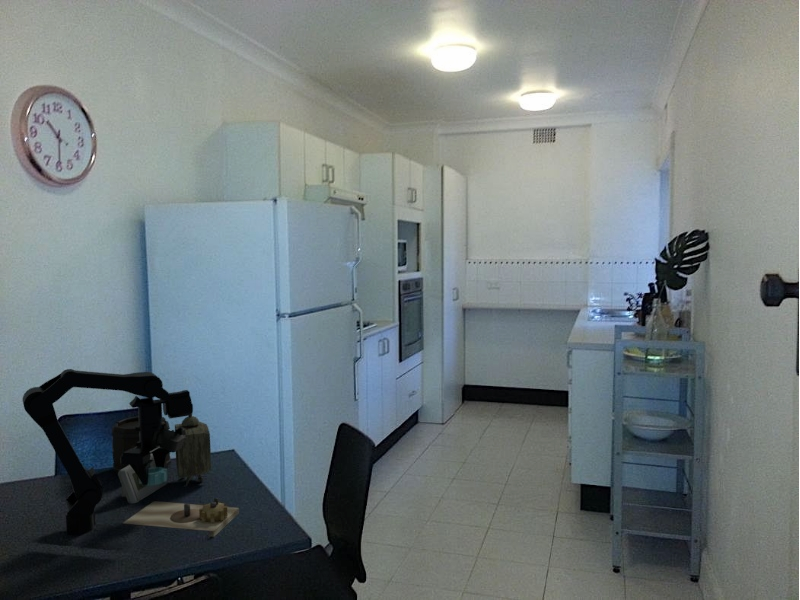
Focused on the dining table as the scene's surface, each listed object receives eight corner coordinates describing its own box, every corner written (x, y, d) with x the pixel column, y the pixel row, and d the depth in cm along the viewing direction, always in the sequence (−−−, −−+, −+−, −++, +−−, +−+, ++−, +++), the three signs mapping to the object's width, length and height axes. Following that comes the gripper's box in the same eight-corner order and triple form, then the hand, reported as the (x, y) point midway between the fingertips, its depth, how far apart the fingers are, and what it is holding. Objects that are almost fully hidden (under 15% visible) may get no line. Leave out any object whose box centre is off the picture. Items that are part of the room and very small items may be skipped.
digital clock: (132, 510, 173) (130, 472, 172) (108, 504, 177) (106, 467, 176) (176, 489, 188) (175, 454, 187) (153, 484, 192) (152, 450, 191)
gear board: (213, 536, 157) (213, 513, 157) (122, 528, 162) (121, 505, 161) (238, 513, 171) (238, 491, 170) (154, 506, 176) (153, 485, 175)
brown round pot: (185, 465, 208) (183, 418, 207) (137, 483, 193) (135, 432, 191) (148, 456, 217) (146, 411, 216) (100, 473, 202) (98, 424, 200)
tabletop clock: (176, 477, 198) (173, 397, 195) (206, 472, 201) (204, 395, 199) (179, 493, 184) (176, 409, 182) (212, 489, 188) (209, 405, 186)
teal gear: (158, 487, 163) (157, 476, 163) (133, 485, 164) (133, 474, 164) (172, 477, 170) (172, 466, 169) (149, 476, 171) (148, 465, 171)
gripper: (158, 433, 155) (161, 495, 156) (197, 413, 173) (199, 468, 175) (117, 431, 157) (120, 492, 158) (159, 411, 175) (162, 466, 177)
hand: (153, 479), depth 167 cm, fingers closed on teal gear, 7 cm apart
